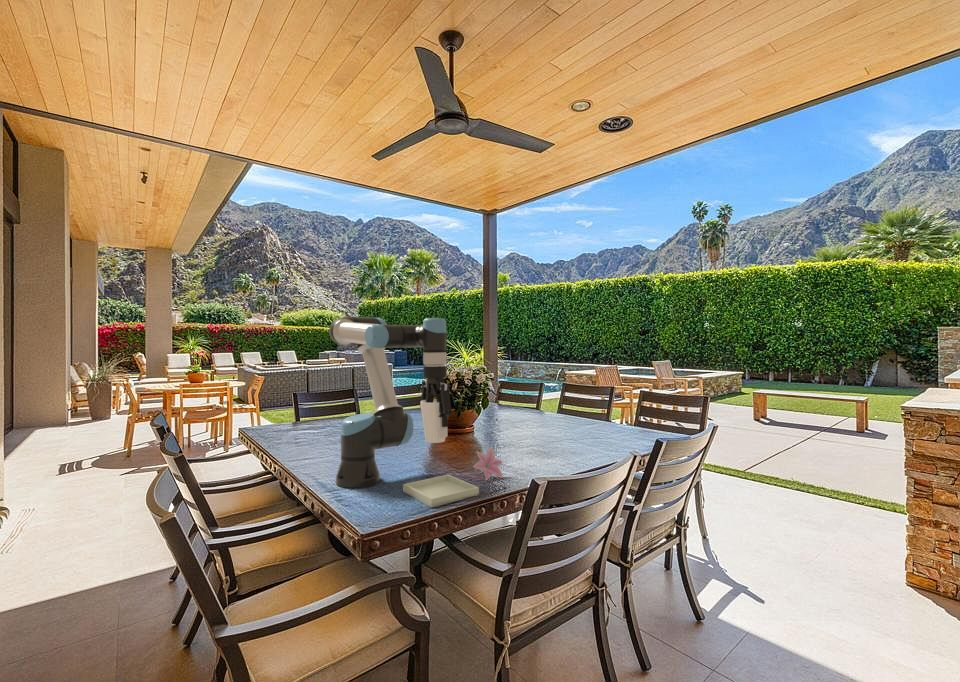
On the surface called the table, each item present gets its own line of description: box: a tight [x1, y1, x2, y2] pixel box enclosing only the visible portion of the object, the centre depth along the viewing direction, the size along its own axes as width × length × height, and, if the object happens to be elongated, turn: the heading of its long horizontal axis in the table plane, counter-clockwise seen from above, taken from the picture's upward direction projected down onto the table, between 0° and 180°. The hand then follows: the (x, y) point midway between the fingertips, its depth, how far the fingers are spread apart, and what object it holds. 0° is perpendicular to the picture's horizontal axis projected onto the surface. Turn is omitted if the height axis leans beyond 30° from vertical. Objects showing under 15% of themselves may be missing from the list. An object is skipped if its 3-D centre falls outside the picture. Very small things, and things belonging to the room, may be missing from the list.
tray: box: [402, 474, 480, 508], centre depth 151 cm, size 18×18×2 cm
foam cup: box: [419, 398, 446, 444], centre depth 150 cm, size 10×9×13 cm
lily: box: [473, 446, 504, 481], centre depth 170 cm, size 12×12×10 cm
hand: (435, 434), depth 150 cm, fingers closed on foam cup, 9 cm apart
